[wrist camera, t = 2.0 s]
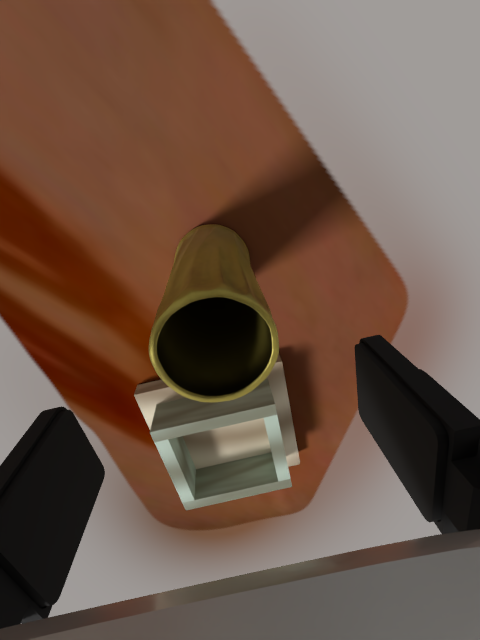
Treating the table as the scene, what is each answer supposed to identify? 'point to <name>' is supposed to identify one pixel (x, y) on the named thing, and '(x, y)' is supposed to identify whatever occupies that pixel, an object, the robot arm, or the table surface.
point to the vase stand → (223, 440)
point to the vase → (213, 320)
